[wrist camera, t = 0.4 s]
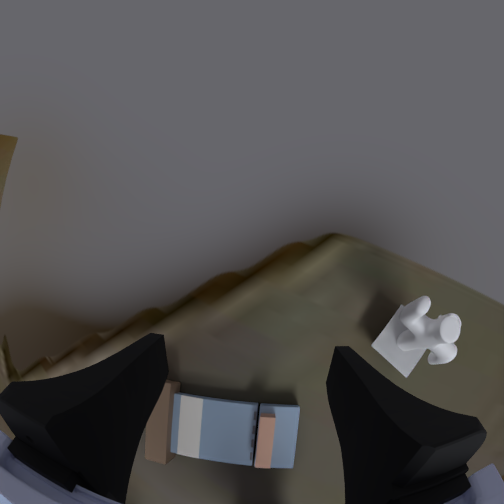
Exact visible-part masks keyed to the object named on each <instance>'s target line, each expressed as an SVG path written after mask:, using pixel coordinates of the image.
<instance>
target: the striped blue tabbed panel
mask: <svg viewBox="0 0 504 504" xmlns="http://www.w3.org/2000/svg"><path fill="white" fill-rule="evenodd" d="M180 383H181V382H176V381H171V380H166V382H165V385H164V388H163V391H162V393H161V395H160V397H159V399H158V401H157V403H156V405H155V407H154V409H153V411H152V413H151V415H150V418H149V420H148V422H147V424H146V440H145V459H148V460H151V461H155V462H158V463H162V464H165V465H166V464H167V463H168V462H169V461H170V460H172V459H173V458H174V457H175V453H177V454H180V455H184V456H189V457H194V458H200V459H205V460H211V461H217V462H224V463H232V464H240V465H250V466H252V462H253V455H254V445H255V435H256V425H257V414H258V403H255V402H244V401H234V400H226V399H218V398H211V397H204V396H198V395H192V394H186V393H181V392H180Z"/></svg>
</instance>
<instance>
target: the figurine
mask: <svg viewBox="0 0 504 504" xmlns="http://www.w3.org/2000/svg"><path fill="white" fill-rule="evenodd" d="M430 305H431V301H430V298H429V297H428V296H422V297H420V298H418V299H416V300H414V301H412V302H411V303H409V304H407V305H406V306H405V307H404V306H403V305H402V304H401V306H400V307H399V309H398V310H397V311H396V313H395V314H394V316H393V317H392V318H391V320H390V321H389V323H388V324H387V325H386V327H385V328H384V329H383V331H382V332H381V333H380V335H379V336H378V337H377V339H376V340H375V341H374V343H373V344H372V345H371V346H372V347H373V348H374V349H375V350H377V351H378V352H379V353H380V354H381V355H382V356H383V357H384V358H385V359H386V360H388V361H389V362H390V363H391V364H392V365H393V366H394V367H395V368H396V369H397V370H398V371H400V372H401V373H402V374H403V375H404V376H405V377H406V378H407V377H408V375H409V374H410V373H411V371H412V370H413V368H414V367H415V365H416V364H417V363H418V361H419V360H420V358H421V357H422V355H423V353H424V352H425V350H426V349H429V350H431V352H430V354H429V356H428V362H429V364H443V363H448V362H450V361H452V360H453V359H454V358H455V356H456V354H457V347H456V345H455V344H454V343H453V342H455V341H456V340H457V339H458V337H459V335H460V326H461V320H460V318H459V317H458V315H456V314H454V313H449V314H447V315H444V316H442V315H439V317H438V319H436V320H435V319H430V318H428V317H427V316H426V315H425V314H426V312H427V311H428V310H429V308H430Z"/></svg>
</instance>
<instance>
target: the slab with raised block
mask: <svg viewBox="0 0 504 504" xmlns="http://www.w3.org/2000/svg"><path fill="white" fill-rule="evenodd" d="M299 412H300V407H299V405H283V404H265V403H261V404H260V411H259V422H258V432H257V442H256V452H255V461H254V466H255V468H269V469H270V468H293V464H294V456H295V448H296V440H297V431H298V422H299Z"/></svg>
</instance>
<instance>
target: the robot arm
mask: <svg viewBox="0 0 504 504" xmlns="http://www.w3.org/2000/svg"><path fill="white" fill-rule="evenodd" d="M168 372H169V371H168V364H167V357H166V349H165V341H164V335H161V334H154V333H150V334H148V335H146V336H144V337H143V338H141V339H139V340H138V341H136V342H134V343H133V344H131V345H129V346H128V347H126V348H124V349H123V350H121V351H119V352H118V353H116V354H114V355H112V356H110V357H108V358H106V359H105V360H103V361H101V362H99V363H97V364H94V365H92V366H90V367H87V368H85V369H82V370H79V371H76V372H73V373H70V374H66V375H63V376H59V377H54V378H49V379H43V380H36V381H21V382H11V383H10V384H9V385H8V386H7V387H6V388H5V389H4V390H3V392H2V393H1V394H0V414H1V416H2V417H3V419H4V420H5V422H6V423H7V425H8V426H9V428H10V429H11V431H12V432H13V433H14V435H15V436H16V437H15V438H14V440H13V441H12V440H11V439H10V438H9V437H8V436H7V435H6V434H5V433H3V432H2V431H1V430H0V493H1V494H2V495H3V496H4V497H5V498H7V499H8V500H9V501H10V502H11V503H13V504H125V500H126V494H127V488H128V483H129V478H130V474H131V470H132V466H133V462H134V458H135V455H136V451H137V448H138V445H139V442H140V439H141V435H142V433H143V430H144V428H145V426H146V424H147V422H148V420H149V418H150V415H151V413H152V411H153V409H154V407H155V405H156V403H157V401H158V399H159V397H160V395H161V393H162V391H163V388H164V385H165V382H166V379H167V375H168ZM326 387H327V395H328V401H329V405H330V409H331V413H332V416H333V420H334V423H335V427H336V431H337V434H338V438H339V442H340V446H341V452H342V460H343V469H344V481H345V504H504V482H503V480H502V478H501V476H500V474H499V473H498V471H497V469H496V467H495V466H494V464H490V465H488V466H486V467H485V468H483V469H481V470H479V471H477V472H476V473H474V474H472V475H471V476H470V477H468V478H467V476H466V474H465V473H466V472H467V471H468V469H469V468H468V466H467V464H466V463H467V461H468V460H469V459H470V458H471V457H472V456H473V455H474V454H475V452H476V451H477V450H478V449H479V448H480V446H481V445H482V444H483V442H484V440H485V438H486V434H487V432H486V430H485V429H484V427H483V426H482V424H481V423H480V421H479V420H478V418H477V417H473V416H468V415H463V414H458V413H454V412H451V411H448V410H445V409H442V408H439V407H436V406H434V405H431V404H429V403H427V402H425V401H423V400H421V399H419V398H417V397H415V396H413V395H411V394H409V393H408V392H406V391H404V390H403V389H401V388H400V387H398V386H397V385H395V384H394V383H392V382H391V381H390V380H388V379H387V378H386V377H384V376H383V375H382V374H380V373H379V372H378V371H377V370H376V369H374V368H373V367H372V366H371V365H370V364H369V363H367V362H366V361H365V360H364V359H363V358H362V357H361V356H360V355H358V354H357V353H356V352H355V351H354V350H353V349H351V348H350V347H349V346H335V349H334V353H333V357H332V362H331V365H330V369H329V373H328V377H327V381H326Z"/></svg>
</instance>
